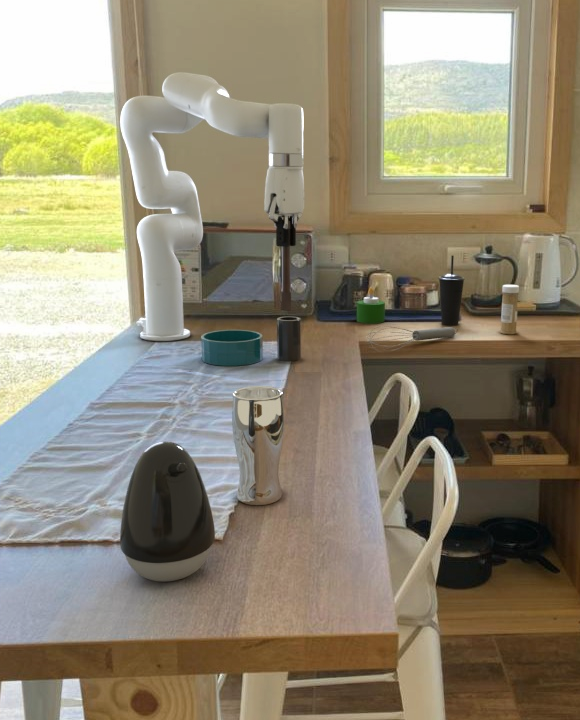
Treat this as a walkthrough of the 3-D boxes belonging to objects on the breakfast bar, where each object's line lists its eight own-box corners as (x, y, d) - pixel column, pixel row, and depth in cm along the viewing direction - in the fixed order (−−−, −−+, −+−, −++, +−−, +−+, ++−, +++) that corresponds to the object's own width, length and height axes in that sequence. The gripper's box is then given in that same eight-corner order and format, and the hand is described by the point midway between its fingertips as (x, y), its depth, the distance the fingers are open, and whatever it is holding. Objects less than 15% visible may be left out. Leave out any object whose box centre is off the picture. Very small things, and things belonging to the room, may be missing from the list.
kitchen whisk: (465, 337, 218) (466, 314, 216) (378, 357, 194) (378, 331, 193) (448, 333, 222) (449, 311, 220) (360, 352, 198) (360, 327, 197)
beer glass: (224, 495, 111) (221, 391, 108) (265, 483, 116) (263, 382, 113) (253, 511, 107) (251, 403, 103) (295, 497, 111) (294, 393, 108)
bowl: (189, 363, 183) (188, 337, 182) (226, 351, 196) (225, 327, 194) (239, 371, 178) (238, 344, 176) (274, 358, 190) (274, 333, 188)
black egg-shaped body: (141, 604, 84) (133, 467, 80) (110, 564, 92) (101, 438, 88) (231, 577, 90) (228, 448, 86) (194, 541, 98) (190, 422, 94)
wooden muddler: (279, 310, 185) (279, 221, 180) (283, 309, 187) (283, 220, 182) (288, 311, 184) (288, 221, 179) (292, 310, 186) (292, 221, 181)
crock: (273, 361, 187) (272, 319, 185) (285, 356, 192) (285, 315, 189) (292, 364, 185) (292, 321, 182) (305, 359, 189) (305, 317, 187)
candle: (380, 324, 233) (381, 290, 231) (353, 322, 235) (353, 288, 233) (387, 319, 241) (388, 286, 239) (360, 317, 243) (361, 284, 241)
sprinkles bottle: (519, 333, 224) (522, 285, 221) (507, 335, 222) (510, 287, 218) (508, 330, 228) (511, 283, 225) (496, 332, 225) (499, 284, 222)
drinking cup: (450, 320, 241) (452, 253, 237) (468, 324, 236) (471, 256, 231) (431, 323, 236) (433, 254, 232) (449, 327, 231) (452, 257, 226)
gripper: (290, 162, 186) (290, 242, 190) (251, 161, 172) (252, 247, 177) (318, 163, 183) (318, 244, 187) (280, 162, 169) (281, 250, 173)
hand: (286, 245), depth 182 cm, fingers closed on wooden muddler, 1 cm apart
